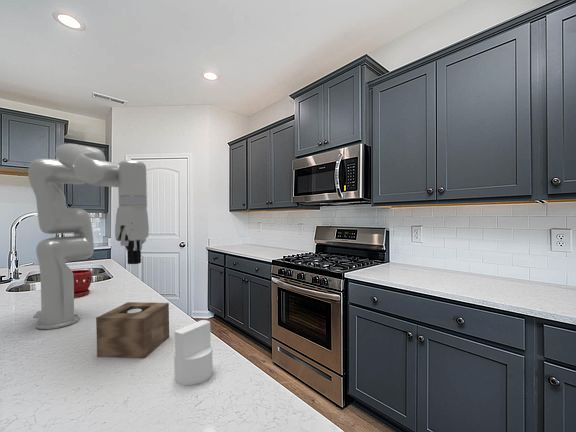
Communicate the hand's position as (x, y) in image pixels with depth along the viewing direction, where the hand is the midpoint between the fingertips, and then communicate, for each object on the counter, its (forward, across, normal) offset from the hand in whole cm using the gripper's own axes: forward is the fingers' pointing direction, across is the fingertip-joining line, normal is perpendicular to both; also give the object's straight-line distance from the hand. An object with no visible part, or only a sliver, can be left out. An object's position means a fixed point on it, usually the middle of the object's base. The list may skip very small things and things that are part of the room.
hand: (134, 263), depth 88 cm
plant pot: (+25, -51, -63) cm, 85 cm away
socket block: (+25, 0, 0) cm, 25 cm away
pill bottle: (+24, 0, 0) cm, 24 cm away
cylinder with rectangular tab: (+25, +14, +24) cm, 38 cm away
